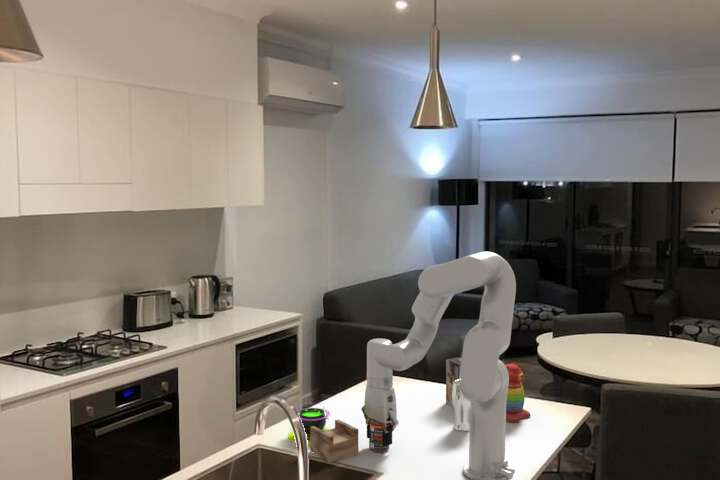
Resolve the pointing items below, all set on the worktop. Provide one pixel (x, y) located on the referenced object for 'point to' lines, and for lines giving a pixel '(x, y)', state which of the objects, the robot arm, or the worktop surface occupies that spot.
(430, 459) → the worktop surface
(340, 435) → the pedestal
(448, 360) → the coffee box
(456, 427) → the white cylindrical cup
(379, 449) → the supplement bottle
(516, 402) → the stacking bear
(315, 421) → the toy cauldron
